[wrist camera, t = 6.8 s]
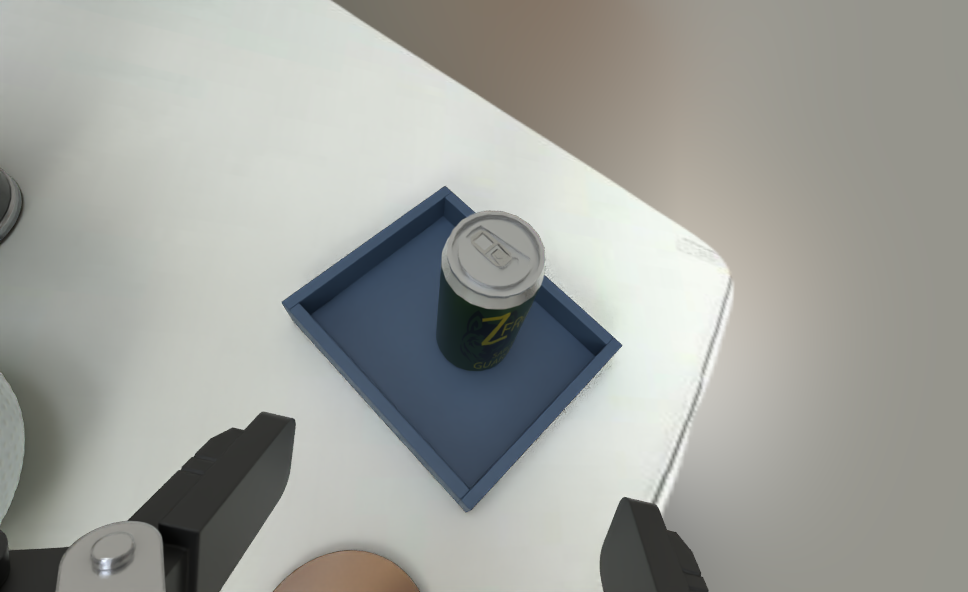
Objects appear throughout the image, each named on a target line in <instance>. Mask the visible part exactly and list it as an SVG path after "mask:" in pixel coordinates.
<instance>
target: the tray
mask: <svg viewBox="0 0 968 592" xmlns="http://www.w3.org/2000/svg"><path fill="white" fill-rule="evenodd" d="M474 213H475V212H474V211H473V210H472V209H471V208H469V207H468V206H467V205H466V204H465V203H464V202H463V201H462V200H461V199H459V198H458V197H457V196H456V195H455V194H454V193H453V192H451V191H450V190H449V189H448V188H447V187H446V186H444V187H443V188H441V189H440V190H438V191H437V192H436V193H434V194H433V195H431V196H430V197H429V198H427V199H426V200H424V201H423V202H421V203H420V204H419V205H417V206H416V207H414V208H413V209H412V210H410V211H409V212H407V213H406V214H405V215H403V216H402V217H400V218H399V219H398V220H396V221H395V222H393V223H392V224H391V225H389V226H388V227H386V228H385V229H383V230H382V231H381V232H379V233H378V234H376V235H375V236H374V237H372V238H371V239H369V240H368V241H367V242H365V243H364V244H362V245H361V246H360V247H358V248H357V249H355V250H354V251H353V252H351V253H350V254H348V255H347V256H346V257H344V258H343V259H341V260H340V261H338V262H337V263H336V264H334V265H333V266H331V267H330V268H329V269H327V270H326V271H324V272H323V273H322V274H320V275H319V276H317V277H316V278H315V279H313V280H312V281H310V282H309V283H308V284H306V285H305V286H303V287H302V288H300V289H299V290H298V291H296V292H295V293H293V294H292V295H291V296H289V297H288V298H286V299H285V300H284V301H282V304H283V306H284V307H285V309H286V310H287V312H288V314H289V315H290V317H291V319H292V320H293V321H294V322H295V323H296V325H297V326H298V327H299V328H300V329H301V330H302V331H303V332H304V333H305V335H306V336H307V337H308V338H309V339H310V340H311V341H312V342H313V343H314V344H315V346H316V347H317V348H318V349H319V350H320V351H321V352H322V353H323V354H324V356H325V357H326V358H327V359H328V360H329V361H330V362H331V363H332V364H333V366H334V367H335V368H336V369H337V370H338V371H339V372H340V373H341V374H342V376H343V377H344V378H345V379H346V380H347V381H348V382H349V383H350V384H351V386H352V387H353V388H354V389H355V390H356V391H357V392H358V393H359V394H360V395H361V397H362V398H363V399H364V400H365V401H366V402H367V403H368V404H369V405H370V407H371V408H372V409H373V410H374V411H375V412H376V413H377V414H378V415H379V417H380V418H381V419H382V420H383V421H384V422H385V423H386V424H387V425H388V427H389V428H390V429H391V430H392V431H393V432H394V433H395V434H396V435H397V437H398V438H399V439H400V440H401V441H402V442H403V443H404V444H405V445H406V446H407V448H408V449H409V450H410V451H411V452H412V453H413V454H414V455H415V456H416V458H417V459H418V460H419V461H420V462H421V463H422V464H423V465H424V466H425V468H426V469H427V470H428V471H429V472H430V473H431V474H432V475H433V476H434V478H435V479H436V480H437V481H438V482H439V483H440V484H441V485H442V486H443V488H444V489H445V490H446V491H447V492H448V493H449V494H450V495H451V496H452V497H453V499H454V500H455V501H456V502H457V503H458V504H459V505H460V506H461V507H462V509H463V510H464V511H465V512H468V511H470V510H472V509H473V508H474V507H475V505H476V504H477V503H478V502H479V501H480V500H481V499H482V498H483V497H484V496H485V495H486V493H487V492H488V491H489V490H490V489H491V488H492V487H493V486H494V485H495V484H496V483H497V482H498V480H499V479H500V478H501V477H502V476H503V475H504V474H505V473H506V472H507V471H508V470H509V468H510V467H511V466H512V465H513V464H514V463H515V462H516V461H517V460H518V459H519V458H520V457H521V455H522V454H523V453H524V452H525V451H526V450H527V449H528V448H529V447H530V446H531V445H532V443H533V442H534V441H535V440H536V439H537V438H538V437H539V436H540V435H541V434H542V433H543V431H544V430H545V429H546V428H547V427H548V426H549V425H550V424H551V423H552V422H553V421H554V420H555V418H556V417H557V416H558V415H559V414H560V413H561V412H562V411H563V410H564V409H565V408H566V406H567V405H568V404H569V403H570V402H571V401H572V400H573V399H574V398H575V397H576V396H577V395H578V393H579V392H580V391H581V390H582V389H583V388H584V387H585V386H586V385H587V384H588V383H589V381H590V380H591V379H592V378H593V377H594V376H595V375H596V374H597V373H598V372H599V371H600V370H601V368H602V367H603V366H604V365H605V364H606V363H607V362H608V361H609V360H610V359H611V358H612V356H613V355H614V354H615V353H616V352H617V351H618V350H619V349H620V348H621V347H622V344H621V343H619V342H618V341H617V340H616V339H615V338H613V336H612V335H611V334H610V333H608V332H607V331H606V330H605V329H604V328H603V327H602V326H601V325H600V324H598V323H597V322H596V321H595V320H594V319H593V318H592V317H591V316H589V315H588V314H587V313H586V312H585V311H584V310H583V309H582V308H581V307H579V306H578V305H577V304H576V303H575V302H574V301H573V300H572V299H571V298H569V297H568V296H567V295H566V294H565V293H564V292H563V291H562V290H561V289H559V288H558V287H557V286H556V285H555V284H554V283H553V282H552V281H551V280H549V279H548V278H547V277H546V276H545V275H544V277H543V281H542V284H541V287H540V289H539V291H538V293H537V295H536V297H535V299H534V301H533V303H532V305H531V307H530V309H529V311H528V313H527V315H526V318H525V320H524V322H523V324H522V326H521V328H520V330H519V332H518V334H517V336H516V338H515V340H514V342H513V344H512V346H511V348H510V351H509V352H508V354H507V355H506V356H505V358H504V359H503V360H502V361H501V362H500V363H498V364H497V365H496V366H494V367H493V368H490V369H486V370H483V371H467V370H465V369H462V368H459V367H456V366H455V365H453V364H452V363H451V362H449V361H448V360H447V359H446V358H445V357H444V355H443V354H442V352H441V351H440V349H439V346H438V343H437V340H436V329H437V314H438V301H439V287H440V273H441V260H442V251H443V249H444V246H445V244H446V241H447V239H448V238H449V237H450V235H451V233H452V230H453V229H454V228H455V227H456V226H457V225H458V224H459V223H460V222H461V220H463V219H465V218H467V217H469V216H470V215H472V214H474Z"/></svg>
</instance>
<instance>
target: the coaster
mask: <svg viewBox="0 0 968 592" xmlns="http://www.w3.org/2000/svg"><path fill="white" fill-rule="evenodd" d="M273 592H420V591H419V589H418V587H417V586H416V584H415V583H414V582H413V580H412V579H411V578H410V577H409V576H408V574H407V573H406V572H405V571H404V570H403V569H401V568H400V567H399V566H398V565H396V564H395V563H394V562H392V561H390V560H388V559H386V558H385V557H382V556H380V555H377V554H374V553H370V552H366V551H357V550H347V551H338V552H333V553H329V554H326V555H323V556H320V557H318V558H315V559H313V560H311V561H309V562H307V563H305V564H304V565H302V566H301V567H299V568H298V569H296V570H295V571H294V572H292V573H291V574H290V575H289V576H288V577H287V578H285V579H284V580H283V581H282V582H281V583H280V584H279V586H278V587H277V588H276V589H275V590H274V591H273Z"/></svg>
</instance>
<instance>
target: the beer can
mask: <svg viewBox="0 0 968 592" xmlns="http://www.w3.org/2000/svg"><path fill="white" fill-rule="evenodd" d="M544 274H545V250H544V246H543V243H542V241H541V239H540V236H539V234H538V233H537V232H536V231H535V230H534V229H533V228H532V226H531V225H530V224H529V223H527V222H525V221H524V220H522V219H521V218H519V217H518V216H515V215H512V214H509V213H506V212H503V211H484V212H479V213H474V214H472V215H470V216H469V217H467V218H465V219H463V220H461V222H460V223H459V224H458V225H457V226H456V227H455V228H454V229H453V230H452V233H451V235H450V237H449V238H448V239H447V241H446V244H445V246H444V249H443V251H442V260H441V273H440V287H439V301H438V314H437V329H436V340H437V343H438V346H439V349H440V351H441V352H442V354H443V355H444V357H445V358H446V359H447V360H448V361H449V362H451V363H452V364H453V365H455V366H456V367H459V368H462V369H465V370H467V371H483V370H486V369H490V368H493V367H494V366H496V365H497V364H498V363H500V362H501V361H502V360H503V359H504V358H505V356H506V355H507V354H508V352H509V351H510V348H511V346H512V344H513V342H514V340H515V338H516V336H517V334H518V332H519V330H520V328H521V326H522V324H523V322H524V320H525V318H526V315H527V313H528V311H529V309H530V307H531V305H532V303H533V301H534V299H535V297H536V295H537V293H538V291H539V289H540V287H541V284H542V281H543V277H544Z"/></svg>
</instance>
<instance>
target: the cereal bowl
mask: <svg viewBox="0 0 968 592" xmlns="http://www.w3.org/2000/svg"><path fill="white" fill-rule="evenodd" d="M23 423H24V421H23V419H22V411H21V409H20V406H19V404H18V400H17V397H16V395H15V394H14V393H13V391H12V389H11V385H10V384H9V383H8V382H7V381H6V380H5V378H4V376H3V374H2V373H1V372H0V525H1V521H2V519H3V518H4V516H5V515H6V514H7V510H8V508H9V507H10V505H11V501H12V499H13V498H14V492H15V490H16V489H17V485H18V482H19V480H20V473H21V471H22V465H23V456H24V454H25V452H24V443H25V440H24V439H25V434H24V424H23Z"/></svg>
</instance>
